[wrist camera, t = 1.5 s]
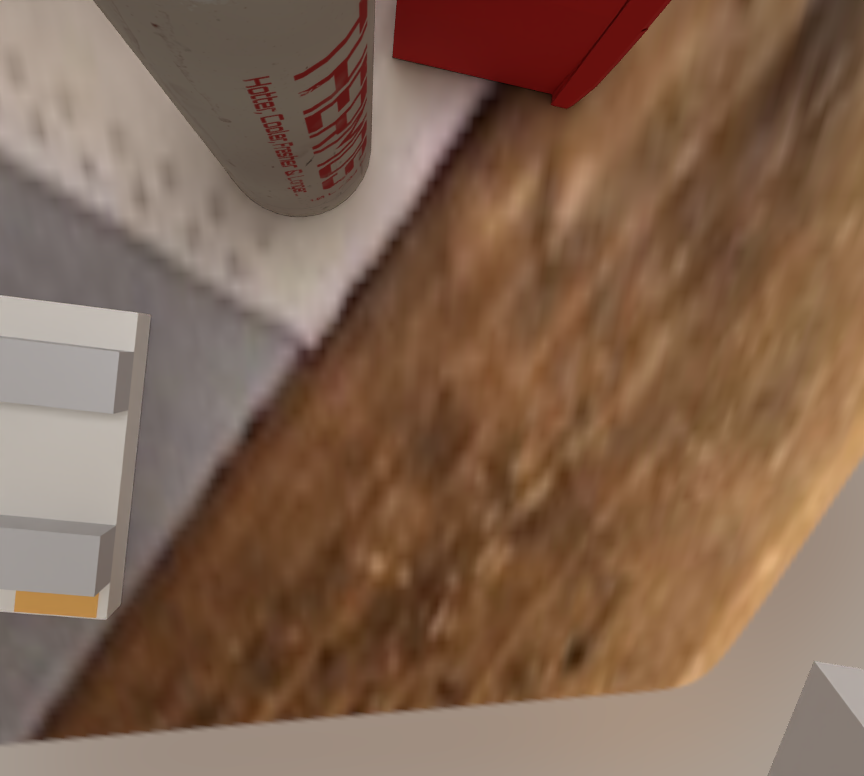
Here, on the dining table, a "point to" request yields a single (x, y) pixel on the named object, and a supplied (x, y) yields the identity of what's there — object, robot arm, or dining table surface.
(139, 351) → the switch board
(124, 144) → the dining table surface
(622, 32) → the red rectangular block
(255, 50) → the thermos bottle
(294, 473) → the dining table surface
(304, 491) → the dining table surface
